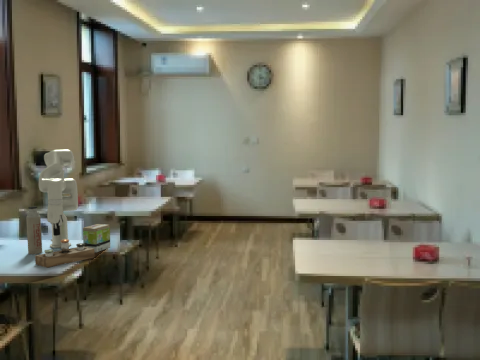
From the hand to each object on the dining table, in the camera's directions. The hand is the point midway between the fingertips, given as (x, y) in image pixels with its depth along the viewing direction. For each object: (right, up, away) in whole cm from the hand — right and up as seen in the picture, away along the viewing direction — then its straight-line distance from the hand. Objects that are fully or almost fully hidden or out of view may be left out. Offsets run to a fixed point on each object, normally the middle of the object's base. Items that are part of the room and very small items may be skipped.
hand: (56, 235), depth 312 cm
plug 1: (-3, -15, -2) cm, 16 cm away
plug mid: (+3, -10, +5) cm, 12 cm away
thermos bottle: (-22, -13, +27) cm, 37 cm away
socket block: (+3, -15, +5) cm, 16 cm away
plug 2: (+10, -14, +13) cm, 21 cm away
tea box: (+14, -12, +33) cm, 38 cm away
